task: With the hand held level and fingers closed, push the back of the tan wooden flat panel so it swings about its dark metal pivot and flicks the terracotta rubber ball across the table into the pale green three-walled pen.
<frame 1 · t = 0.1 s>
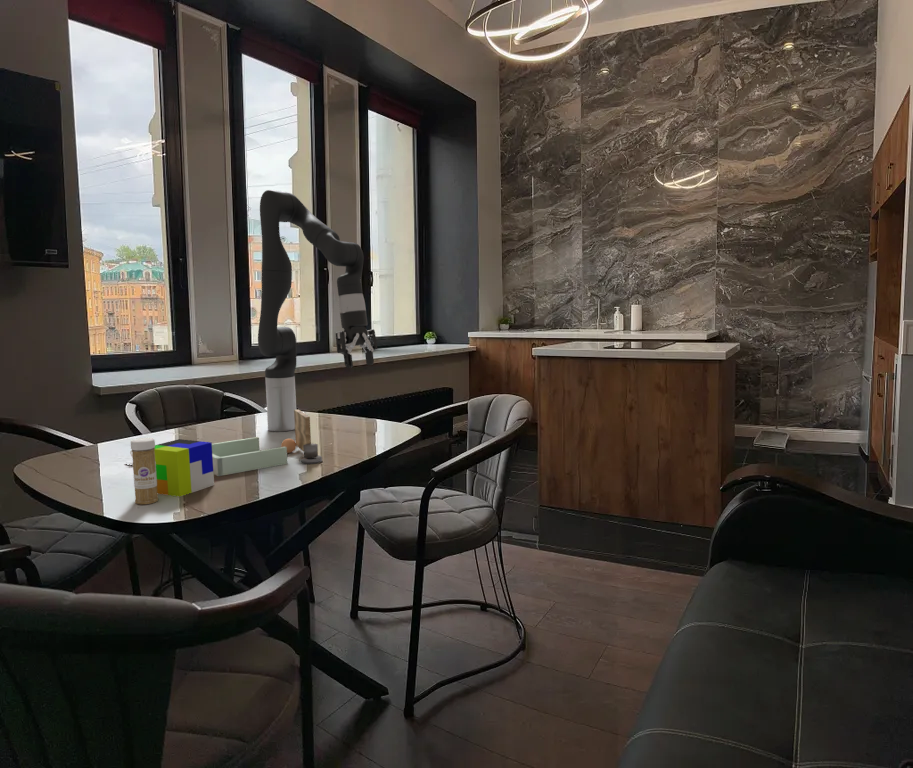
hand: (359, 366, 196), 22 cm above the table, tool pointing down, fingers open, 8 cm apart
tray: (239, 463, 174), on the table
tan wooden flat panel: (304, 432, 180), point 6 cm above the table, hinge at 0.0°
ball: (288, 445, 185), point 2 cm above the table
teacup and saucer: (141, 467, 174), on the table
sprinkles bottle: (147, 502, 141), on the table
puzzle toy: (181, 489, 151), on the table
pivot disc: (311, 461, 175), on the table
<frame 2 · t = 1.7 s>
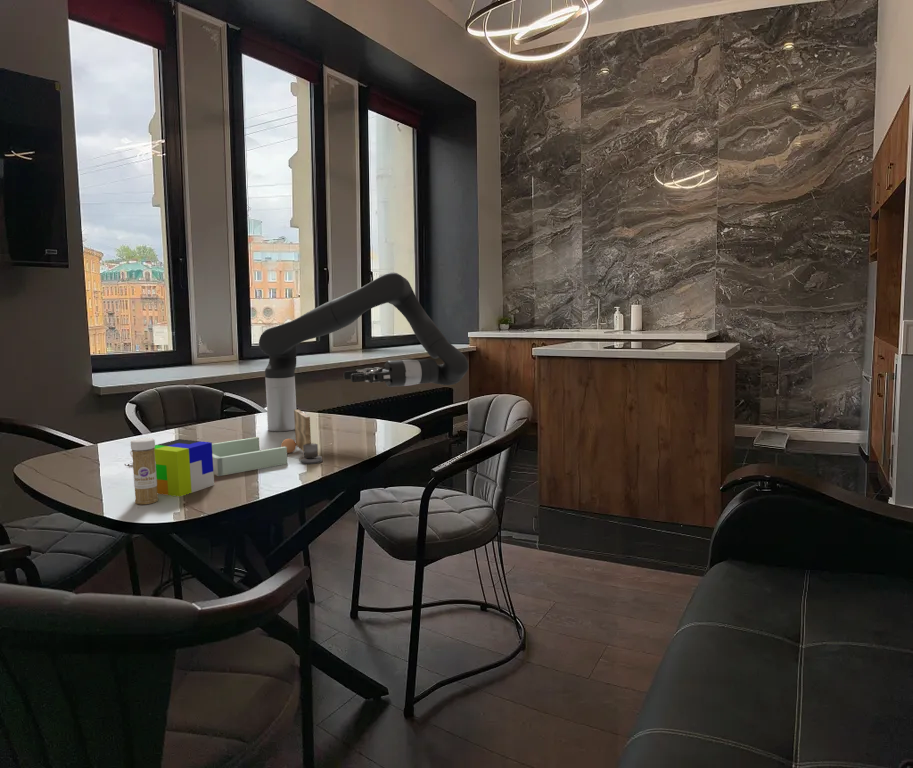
hand: (347, 376, 188), 20 cm above the table, tool horizontal, fingers open, 7 cm apart
nothing on the table moved.
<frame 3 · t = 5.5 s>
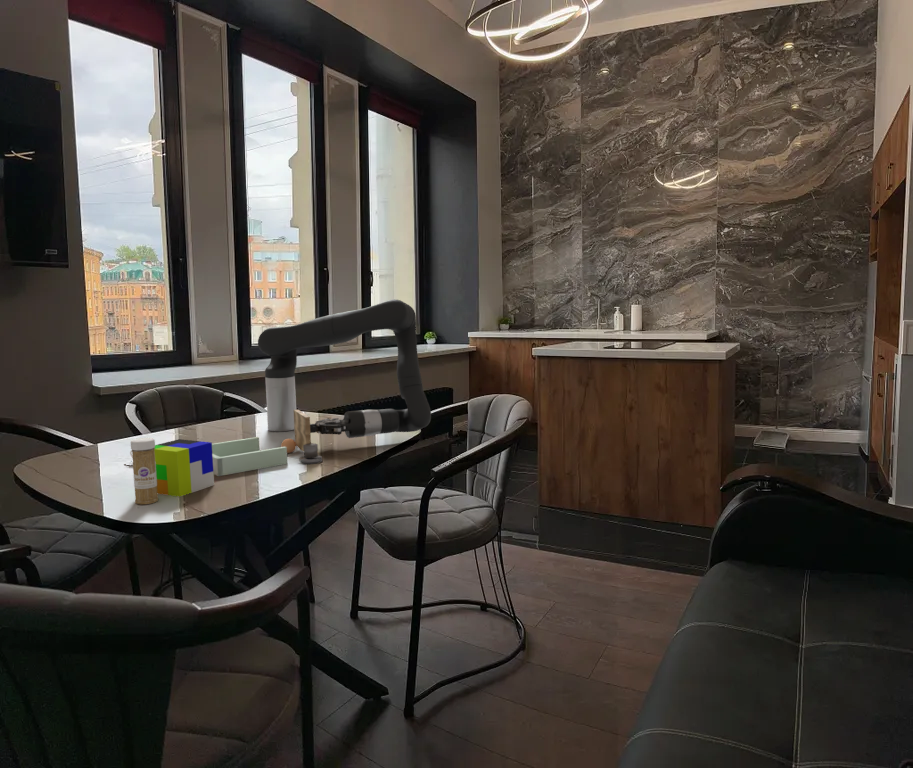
hand: (302, 429, 184), 7 cm above the table, tool horizontal, fingers closed
tan wooden flat panel: (303, 432, 180), point 6 cm above the table, hinge at 0.5°, touching gripper
everything else where it was.
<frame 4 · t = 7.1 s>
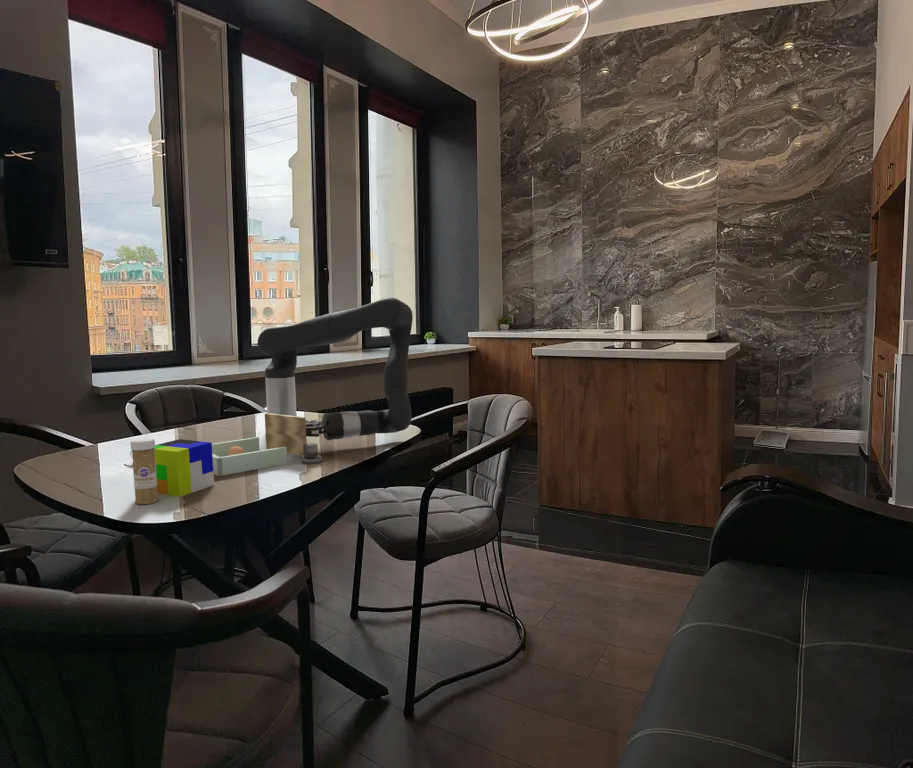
hand: (279, 431, 181), 7 cm above the table, tool horizontal, fingers closed
tan wooden flat panel: (290, 434, 178), point 6 cm above the table, hinge at 32.3°, touching gripper
ball: (236, 453, 176), point 2 cm above the table, tilted 59°
everything else where it was.
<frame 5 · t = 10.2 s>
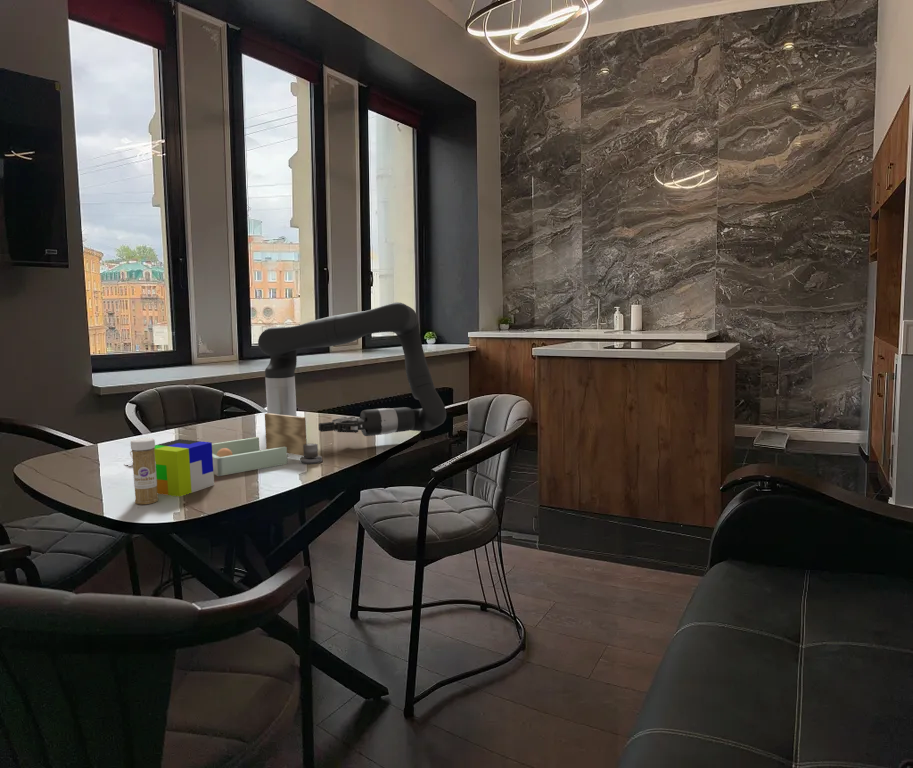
hand: (319, 427, 186), 7 cm above the table, tool horizontal, fingers closed
tan wooden flat panel: (290, 434, 178), point 6 cm above the table, hinge at 32.3°
ball: (224, 455, 174), point 2 cm above the table, tilted 147°
everything else where it was.
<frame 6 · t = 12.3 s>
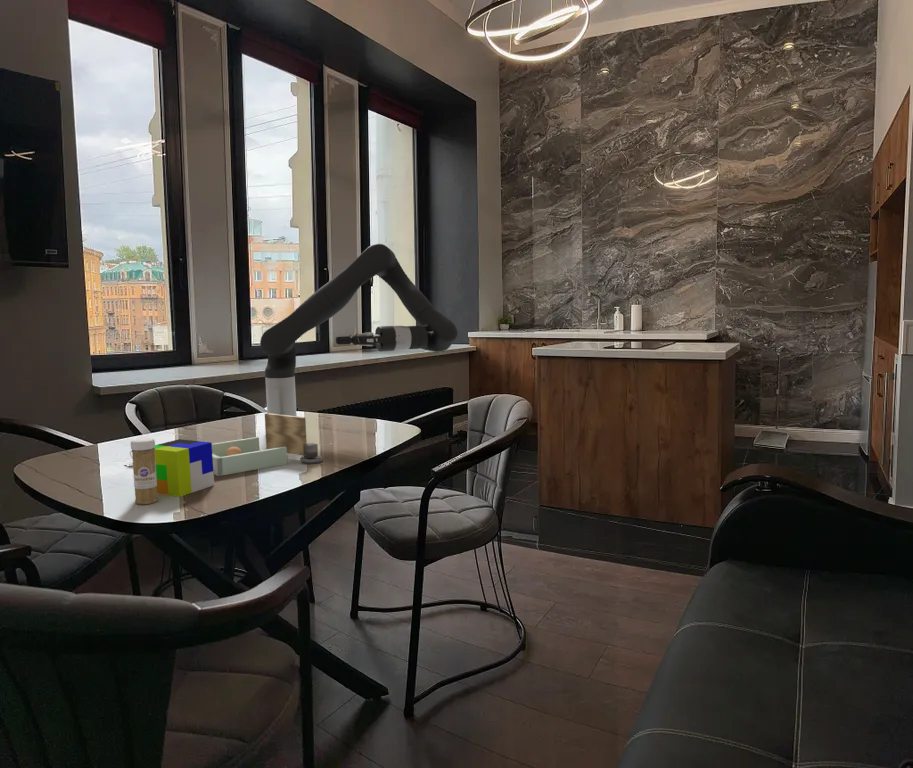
hand: (336, 340, 193), 30 cm above the table, tool horizontal, fingers closed
ball: (234, 454, 175), point 2 cm above the table, tilted 77°
everything else where it was.
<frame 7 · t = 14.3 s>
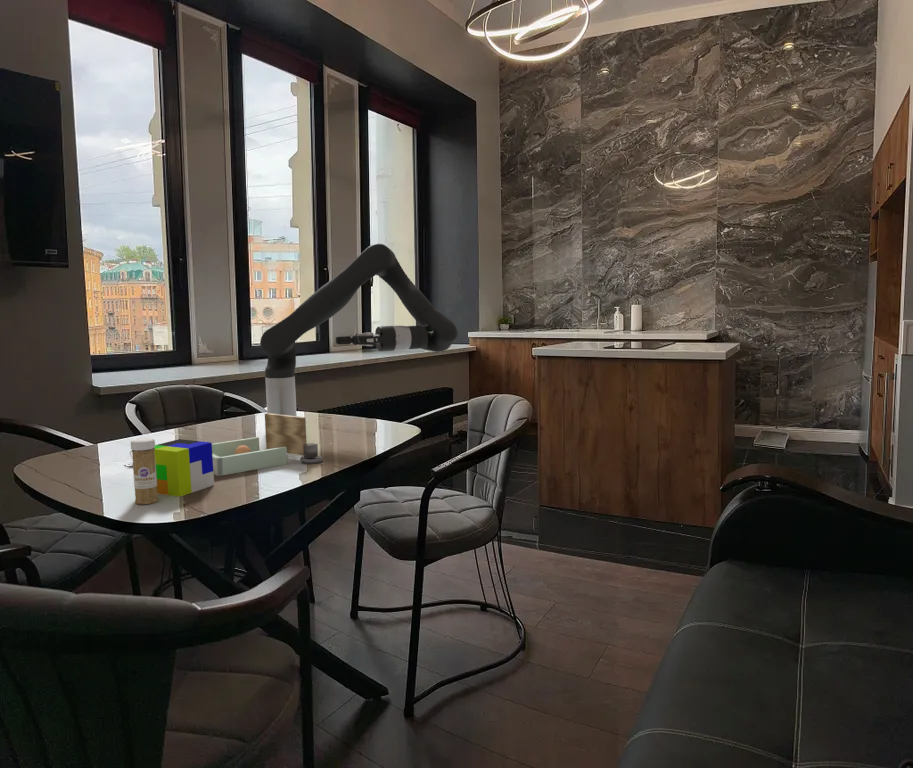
hand: (336, 340, 193), 30 cm above the table, tool horizontal, fingers closed
ball: (242, 452, 177), point 2 cm above the table, tilted 14°
everything else where it was.
at the end: ball 3.3 cm from the tray (horizontally); ball point 2.0 cm above the table; tan wooden flat panel at +32° (first picture: +0°) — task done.
